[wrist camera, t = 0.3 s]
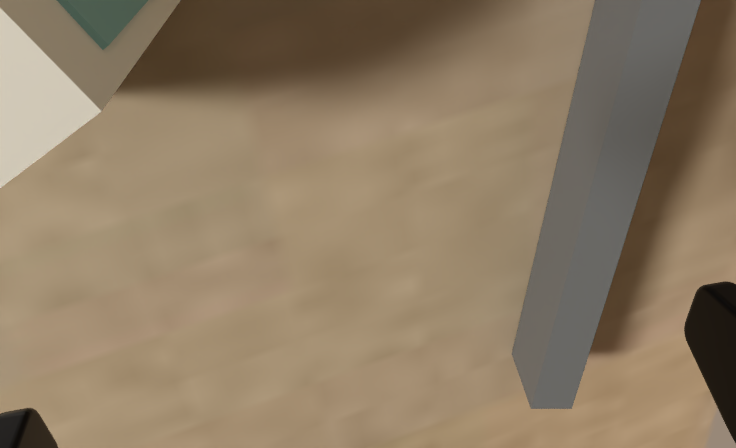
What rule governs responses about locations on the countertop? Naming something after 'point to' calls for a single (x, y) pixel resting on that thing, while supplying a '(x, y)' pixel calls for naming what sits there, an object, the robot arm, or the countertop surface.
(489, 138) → the countertop surface
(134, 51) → the cream carton
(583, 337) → the price rail
